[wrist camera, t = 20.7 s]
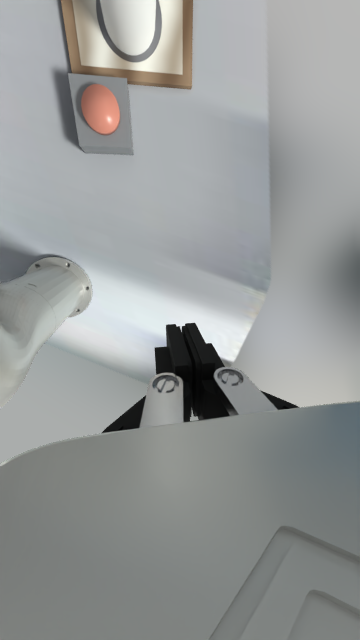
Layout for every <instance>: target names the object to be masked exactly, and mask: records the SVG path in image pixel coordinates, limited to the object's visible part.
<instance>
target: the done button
mask: <svg viewBox="0 0 360 640" xmlns="http://www.w3.org/2000/svg"><path fill="white" fill-rule="evenodd" d="M81 108H82V112H83V115H84V117H85V119H86V121H87V123H88V124H89V126H90V127H91V128H92V129H93V130H94V131H95V132H96V133H98V134H100V135H110V134H112V133H114V132H115V131H116V130H117V128H118V126H119V123H120V110H119V106H118V103H117V100H116V98H115V96H114V95H113V93H112V92H111V91H110V90H109V89H108V88H107V87H105V86H103V85H100V84H93V85H90V86H89V87H87V88H86V89H85V91H84V93H83V95H82V99H81Z"/></svg>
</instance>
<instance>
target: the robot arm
mask: <svg viewBox="0 0 360 640" xmlns="http://www.w3.org/2000/svg"><path fill="white" fill-rule="evenodd" d="M68 263H69V264H70V266H69V265H68ZM38 264H39V265H40V266H39V265H38ZM87 286H88V287H89V288H87ZM92 292H93V291H92V285H91V282H90V279H89V277H88V276H87V274H86V273H85V272H84V270H83V269H82V268H80V267H79V266H78V265H77V264H75V263H74V262H72V261H70V260H67V259H64V258H60V257H47V258H43V259H40V260H38V261H36V262H34V263H33V264H32V265H31V266H30V267H29V268H28V270H27V272H26V274H25V275H24V276H21V277H19V278H16V279H13V280H11V281H8V282H0V409H1V408H2V407H3V406H4V405H5V404H6V403H7V402H8V401H9V400H10V399H11V398H12V397H13V395H14V394H15V393H16V392H17V390H18V389H19V387H20V386H21V384H22V383H23V381H24V379H25V377H26V375H27V373H28V371H29V369H30V366H31V364H32V362H33V360H34V358H35V356H36V354H37V353H38V351H39V350H40V348H41V347H42V346H43V345H44V344H45V342H46V341H47V340H48V339H49V338H50V337H51V336H52V335H53V333H54V332H55V331H56V330H57V329H58V328H59V327H60V325H61V324H62V323H63V322H64V321H65V320H66V319H67V318H68V317H73V316H76V315H78V314H80V313H82V312H83V311H84V310H85V309H86V308H87V307H88V305H89V303H90V302H91V299H92ZM78 309H79V310H78ZM166 337H167V347H157V348H155V360H156V376H154V377H153V378H152V379H151V380H150V382H149V384H148V390H147V395H146V396H145V397H143V398H142V399H141V400H140V401H138V402H137V403H136V404H135V405H134V406H133V407H131V408H130V409H129V410H128V411H126V412H125V413H124V414H123V415H122V416H120V417H119V418H118V419H117V420H116V421H115V422H113V423H112V424H111V425H109V426H108V427H107V428H106V429H105V430H104V431H103V432H102V433H101V434H95V435H89V436H83V437H77V438H71V439H66V440H62V441H58V442H53V443H49V444H46V445H43V446H40V447H38V448H34V449H31V450H28V451H26V452H24V453H22V454H19V455H17V456H15V457H12V458H11V459H8V460H6V461H4V462H2V463H0V640H360V401H354V402H343V403H333V404H326V405H325V404H324V405H317V406H309V407H301V408H300V407H298V406H296V405H294V404H291V403H289V402H287V401H284V400H282V399H280V398H277V397H275V396H272V395H270V394H267V393H265V392H263V391H260V390H259V389H258V388H257V387H256V386H255V384H254V383H253V382H252V381H251V380H250V379H249V378H248V377H247V376H246V375H245V374H244V373H243V372H242V371H241V370H238V369H236V368H232V367H225V366H224V364H223V363H222V361H221V359H220V357H219V356H218V354H217V352H216V350H215V348H214V347H213V345H212V344H211V343H207V344H206V343H205V341H204V339H203V337H202V335H201V333H200V331H199V330H198V328H197V326H196V324H195V323H187V324H185V326H182V332H181V329H180V326H178V327H176V324H171V325H166ZM191 408H192V410H193V414H194V416H198V419H199V420H197V421H190V417H191Z"/></svg>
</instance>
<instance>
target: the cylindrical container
mask: <svg viewBox="0 0 360 640" xmlns="http://www.w3.org/2000/svg"><path fill="white" fill-rule="evenodd" d="M100 3H101V8H102V13H103V18H104V23H105V26H106V30H107V32H108V34H109V37H110V38H111V40H112V42H113V43H114V44H115V46H116V47H117V48H118V49H120V50H121V51H122V52H124V53H126V54H128V55H140V54H142V53H143V52H145V51H146V50H147V49H148V48H149V46H150V44H151V43H152V40H153V37H154V32H155V16H156V0H100Z"/></svg>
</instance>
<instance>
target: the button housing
mask: <svg viewBox="0 0 360 640" xmlns="http://www.w3.org/2000/svg"><path fill="white" fill-rule="evenodd" d="M68 78H69V85H70V91H71V97H72V103H73V110H74V116H75V122H76V128H77V135H78V141H79V146H80V147H81V148H82V150H83V151H84V152H85V153H96V154H120V155H133V142H132V129H131V116H130V103H129V91H128V84H127V78H118V77H106V76H95V75H84V74H72V73H68ZM93 84H100V85H103V86H105V87H107V88H108V89H109V90H110V91H111V92H112V93H113V95H114V96H115V98H116V100H117V103H118V106H119V110H120V123H119V126H118V128H117V130H116V131H115V132H114V133H112V134H110V135H100V134H98V133H96V132H95V131H94V130H93V129H92V128H91V127H90V126H89V124H88V123H87V121H86V119H85V117H84V115H83V112H82V108H81V99H82V95H83V93H84V91H85V89H86V88H87V87H89V86H90V85H93Z"/></svg>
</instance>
